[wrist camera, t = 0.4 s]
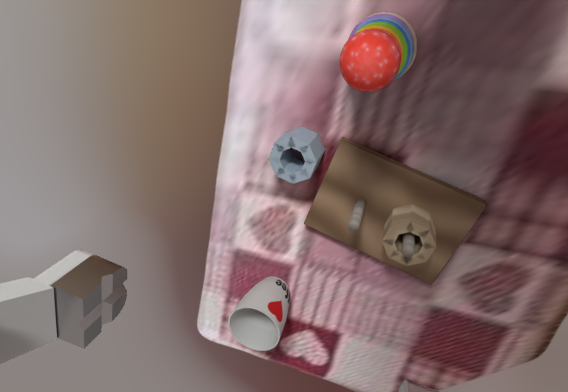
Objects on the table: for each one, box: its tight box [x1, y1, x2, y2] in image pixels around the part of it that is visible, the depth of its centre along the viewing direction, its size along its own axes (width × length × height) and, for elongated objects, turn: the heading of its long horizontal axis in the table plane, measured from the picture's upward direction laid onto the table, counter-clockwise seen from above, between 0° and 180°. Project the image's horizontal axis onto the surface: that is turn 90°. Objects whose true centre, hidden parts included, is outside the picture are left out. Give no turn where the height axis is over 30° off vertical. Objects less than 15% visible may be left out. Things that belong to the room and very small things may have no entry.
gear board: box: [304, 137, 487, 284], centre depth 53 cm, size 14×20×8 cm
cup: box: [228, 276, 290, 351], centre depth 64 cm, size 8×8×10 cm
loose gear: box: [269, 126, 325, 184], centre depth 55 cm, size 6×6×5 cm
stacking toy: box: [340, 12, 417, 92], centre depth 41 cm, size 8×8×19 cm
